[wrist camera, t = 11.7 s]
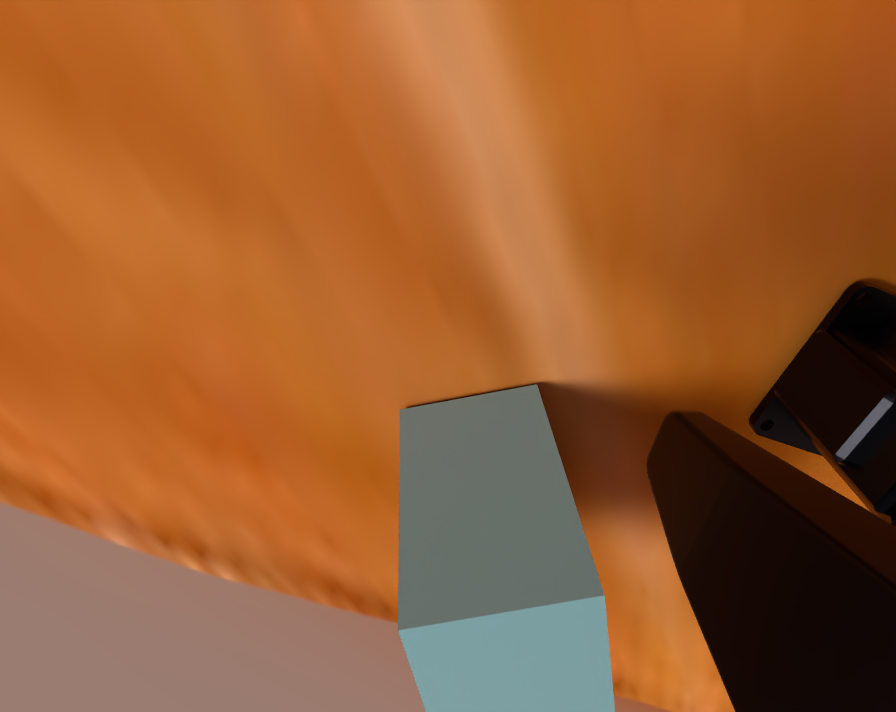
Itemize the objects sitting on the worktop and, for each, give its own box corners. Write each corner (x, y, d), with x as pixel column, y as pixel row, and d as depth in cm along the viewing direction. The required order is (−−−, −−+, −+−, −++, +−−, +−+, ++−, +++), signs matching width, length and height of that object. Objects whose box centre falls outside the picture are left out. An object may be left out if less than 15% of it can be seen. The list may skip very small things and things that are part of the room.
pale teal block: (537, 384, 24) (604, 595, 16) (550, 488, 26) (615, 714, 18) (399, 409, 24) (398, 630, 16) (426, 510, 26) (437, 743, 18)
